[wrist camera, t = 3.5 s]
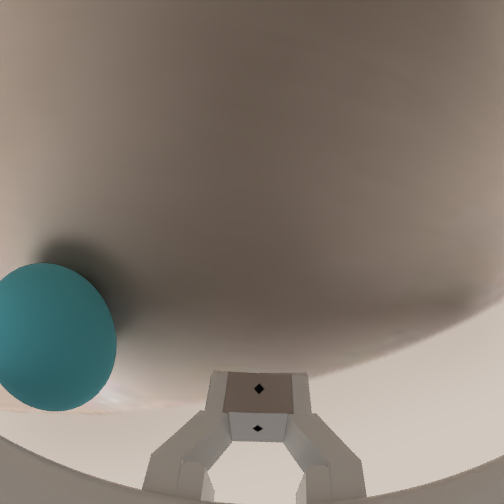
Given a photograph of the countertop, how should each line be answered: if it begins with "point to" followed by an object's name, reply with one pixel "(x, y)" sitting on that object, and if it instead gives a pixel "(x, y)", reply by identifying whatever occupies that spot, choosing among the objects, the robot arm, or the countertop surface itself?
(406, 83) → the countertop surface
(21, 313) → the ball
